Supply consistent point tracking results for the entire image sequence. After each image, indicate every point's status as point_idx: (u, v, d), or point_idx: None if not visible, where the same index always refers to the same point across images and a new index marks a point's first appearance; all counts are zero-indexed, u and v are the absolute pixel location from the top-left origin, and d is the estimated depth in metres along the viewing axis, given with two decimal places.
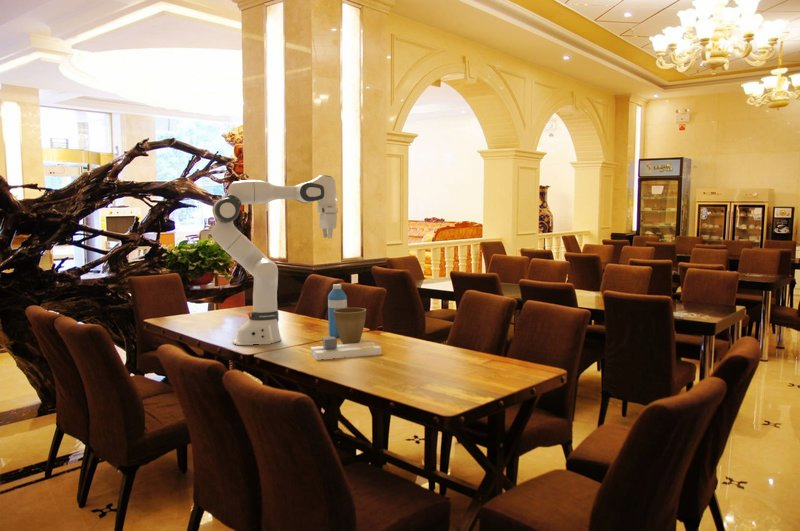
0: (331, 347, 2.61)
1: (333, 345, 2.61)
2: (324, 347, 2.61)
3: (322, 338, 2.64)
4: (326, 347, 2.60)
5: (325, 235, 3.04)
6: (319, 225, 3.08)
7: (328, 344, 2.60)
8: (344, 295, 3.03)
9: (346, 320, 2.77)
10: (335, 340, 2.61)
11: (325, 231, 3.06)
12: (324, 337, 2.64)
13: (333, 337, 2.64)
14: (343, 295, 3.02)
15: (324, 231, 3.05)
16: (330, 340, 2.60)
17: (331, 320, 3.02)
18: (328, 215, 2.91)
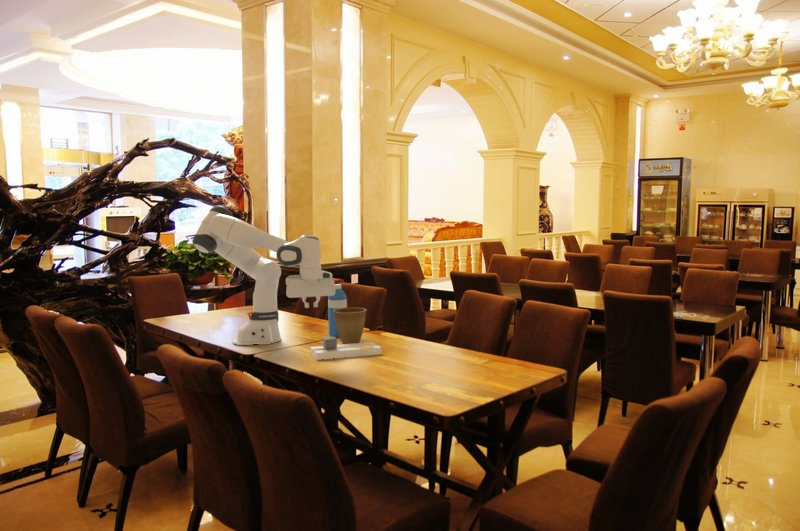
0: (331, 347, 2.61)
1: (333, 345, 2.61)
2: (324, 347, 2.61)
3: (322, 338, 2.64)
4: (326, 347, 2.60)
5: None
6: (289, 295, 2.54)
7: (328, 344, 2.60)
8: (344, 295, 3.03)
9: (346, 320, 2.77)
10: (335, 340, 2.61)
11: (304, 300, 2.58)
12: (324, 337, 2.64)
13: (333, 337, 2.64)
14: (343, 295, 3.02)
15: None
16: (330, 340, 2.60)
17: (331, 320, 3.02)
18: None
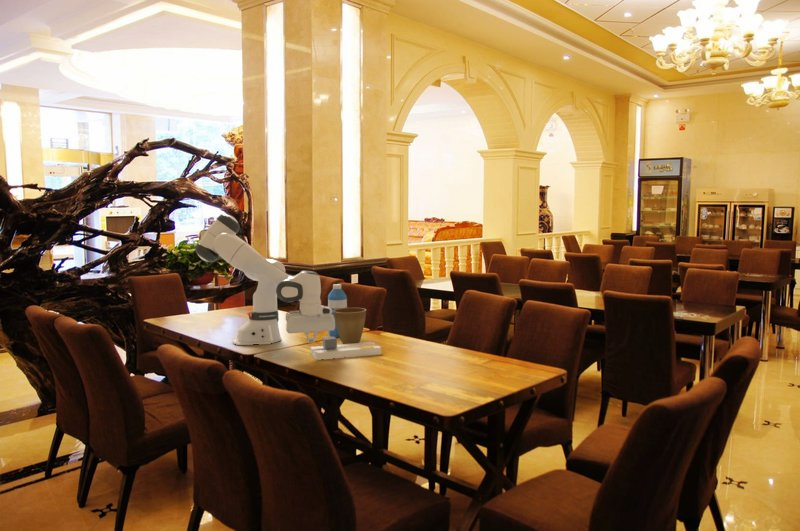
0: (331, 347, 2.61)
1: (333, 345, 2.61)
2: (324, 347, 2.61)
3: (322, 338, 2.64)
4: (326, 347, 2.60)
5: None
6: (289, 330, 2.55)
7: (328, 344, 2.60)
8: (344, 295, 3.03)
9: (346, 320, 2.77)
10: (335, 340, 2.61)
11: None
12: (324, 337, 2.64)
13: (333, 337, 2.64)
14: (343, 295, 3.02)
15: (307, 335, 2.59)
16: (330, 340, 2.60)
17: None
18: None
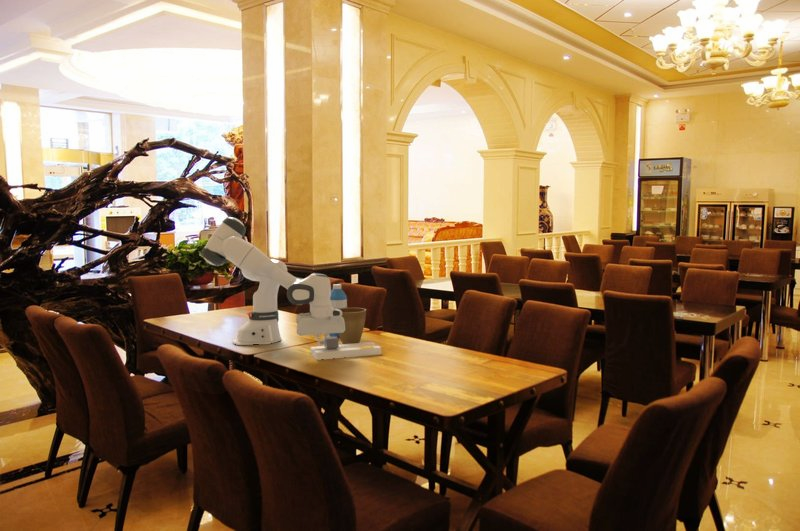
0: (333, 347, 2.61)
1: (335, 345, 2.61)
2: (326, 347, 2.61)
3: None
4: (328, 347, 2.60)
5: None
6: (300, 333, 2.56)
7: (330, 344, 2.60)
8: (344, 295, 3.03)
9: (346, 320, 2.77)
10: (337, 340, 2.61)
11: (317, 337, 2.61)
12: None
13: (335, 337, 2.64)
14: (343, 295, 3.02)
15: None
16: (332, 340, 2.61)
17: None
18: None
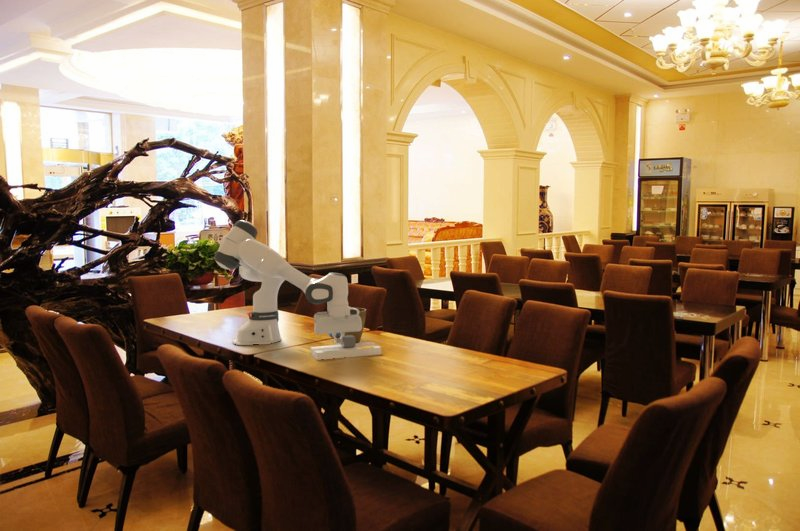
0: (350, 345, 2.63)
1: (352, 344, 2.64)
2: (343, 345, 2.64)
3: None
4: (345, 345, 2.63)
5: None
6: (317, 331, 2.59)
7: (347, 343, 2.63)
8: None
9: None
10: (354, 338, 2.64)
11: (334, 336, 2.63)
12: None
13: (351, 336, 2.67)
14: None
15: None
16: (349, 338, 2.63)
17: None
18: (359, 316, 2.65)
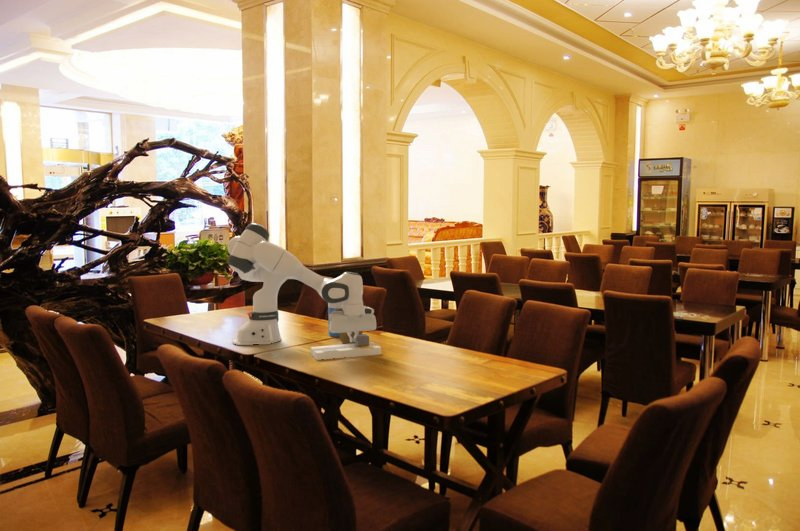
0: (364, 344, 2.66)
1: (365, 342, 2.66)
2: (357, 344, 2.66)
3: None
4: (359, 344, 2.65)
5: None
6: (332, 330, 2.61)
7: (361, 341, 2.65)
8: None
9: None
10: (367, 337, 2.66)
11: (350, 335, 2.66)
12: None
13: (365, 334, 2.69)
14: None
15: (350, 335, 2.65)
16: (363, 337, 2.65)
17: None
18: None
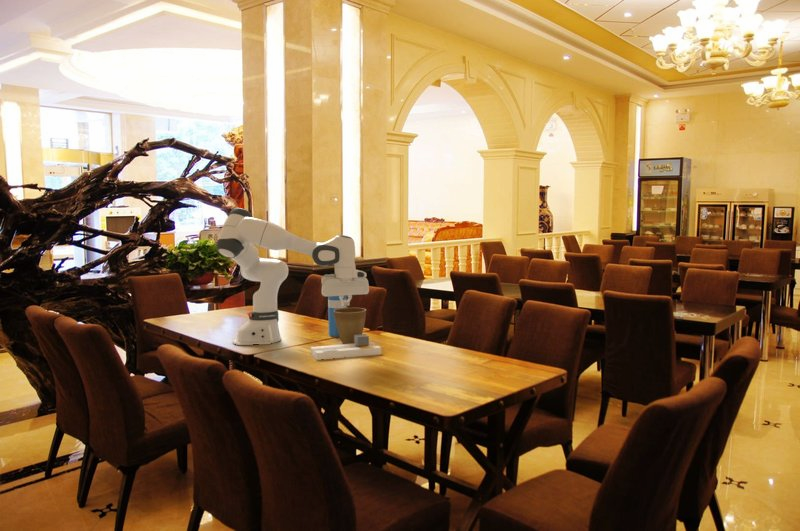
0: (363, 344, 2.65)
1: (365, 342, 2.66)
2: (356, 344, 2.66)
3: (354, 335, 2.69)
4: (358, 344, 2.65)
5: None
6: (325, 293, 2.59)
7: (361, 341, 2.65)
8: (344, 295, 3.03)
9: (346, 320, 2.77)
10: (367, 337, 2.66)
11: None
12: None
13: (365, 334, 2.69)
14: None
15: (342, 299, 2.63)
16: (362, 337, 2.65)
17: (331, 320, 3.02)
18: None
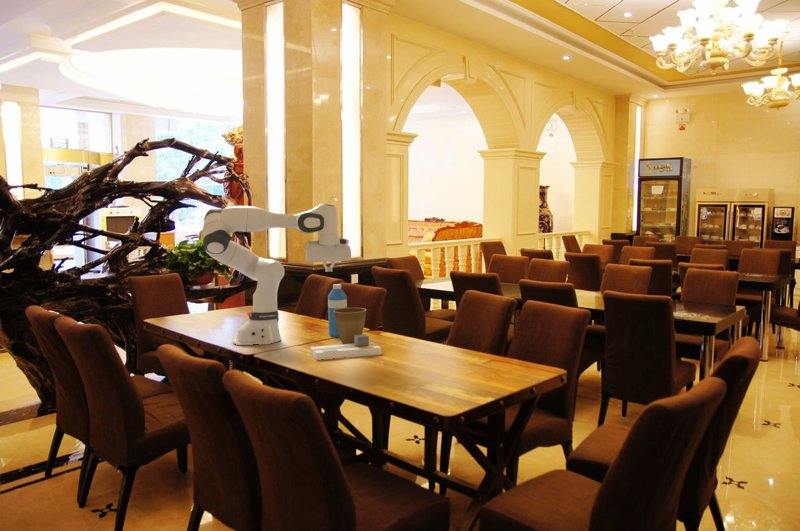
0: (363, 344, 2.65)
1: (365, 342, 2.66)
2: (356, 344, 2.66)
3: (354, 335, 2.69)
4: (358, 344, 2.65)
5: None
6: (308, 259, 2.71)
7: (361, 341, 2.65)
8: (344, 295, 3.03)
9: (346, 320, 2.77)
10: (367, 337, 2.66)
11: None
12: None
13: (365, 334, 2.69)
14: (343, 295, 3.02)
15: (325, 265, 2.76)
16: (362, 337, 2.65)
17: (331, 320, 3.02)
18: None
